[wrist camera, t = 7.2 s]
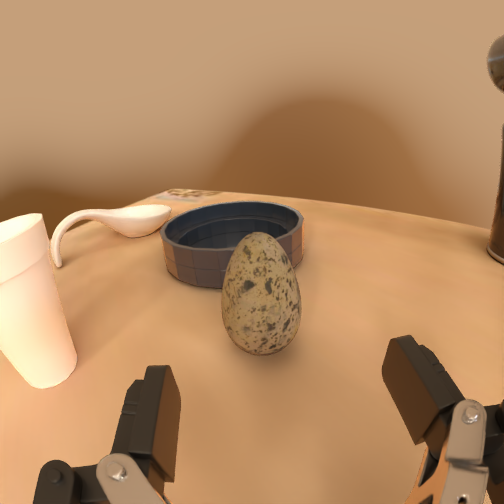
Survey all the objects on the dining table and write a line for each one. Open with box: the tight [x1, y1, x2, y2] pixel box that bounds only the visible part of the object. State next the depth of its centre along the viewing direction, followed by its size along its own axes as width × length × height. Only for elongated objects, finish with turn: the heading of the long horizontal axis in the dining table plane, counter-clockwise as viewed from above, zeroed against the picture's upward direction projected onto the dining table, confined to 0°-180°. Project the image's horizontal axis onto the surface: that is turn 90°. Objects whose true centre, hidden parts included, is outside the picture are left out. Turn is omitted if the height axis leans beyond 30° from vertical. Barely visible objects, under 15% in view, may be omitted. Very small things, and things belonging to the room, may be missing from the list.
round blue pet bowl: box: [160, 201, 304, 288], centre depth 39 cm, size 18×18×5 cm
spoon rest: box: [51, 205, 172, 267], centre depth 47 cm, size 24×12×7 cm, turn 138°
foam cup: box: [0, 213, 78, 389], centre depth 19 cm, size 10×9×13 cm
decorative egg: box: [221, 232, 301, 356], centre depth 22 cm, size 6×6×10 cm
